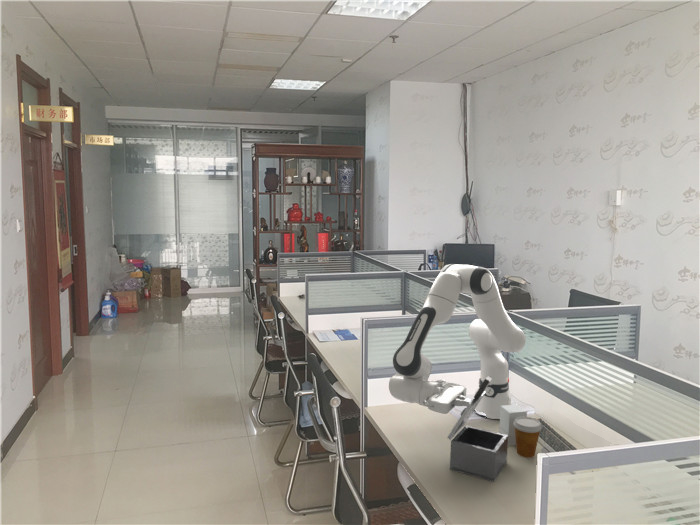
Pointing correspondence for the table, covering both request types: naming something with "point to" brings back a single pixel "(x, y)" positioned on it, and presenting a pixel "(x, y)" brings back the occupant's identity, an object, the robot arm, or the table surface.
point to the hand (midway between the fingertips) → (470, 403)
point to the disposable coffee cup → (526, 436)
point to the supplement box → (510, 421)
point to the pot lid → (470, 408)
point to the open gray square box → (479, 452)
